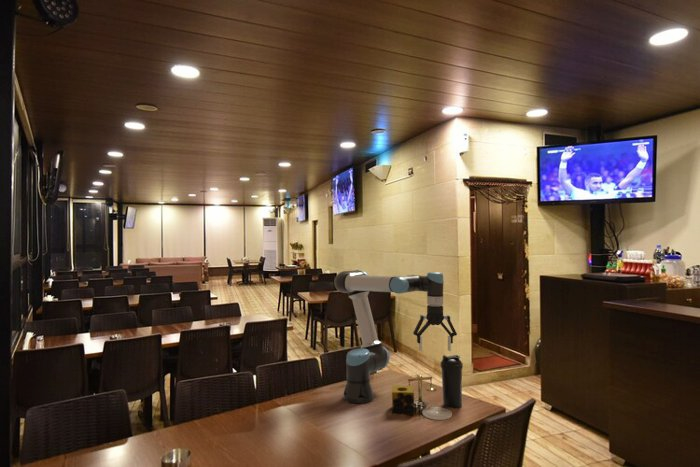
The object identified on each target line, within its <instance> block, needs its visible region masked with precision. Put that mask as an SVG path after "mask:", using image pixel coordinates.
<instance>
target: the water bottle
mask: <svg viewBox="0 0 700 467" xmlns="http://www.w3.org/2000/svg"><path fill="white" fill-rule="evenodd" d="M460 359H461V356H460V355H458V354H455V355H449V356H448V355H445V354H443V355H442V359H441V361H440V368H441V384H442V387H441V388H442V404H443V406H444V408H447V409H460V408H462V407H463V406H462V403H463V401H462V400H463V398H462V396H463V366H464V365H463V364H464V363H463V362H462V360H460Z"/></svg>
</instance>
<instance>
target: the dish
mask: <svg viewBox="0 0 700 467" xmlns="http://www.w3.org/2000/svg"><path fill="white" fill-rule="evenodd" d="M422 416H423V417H424V418H426V419H430V420H434V421H445V420H449V419H451V418H452V416H453V412H452V410H450V409H449V408H447V407H440V406H430V407H426V408H423V409H422Z"/></svg>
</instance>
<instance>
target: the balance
mask: <svg viewBox="0 0 700 467" xmlns="http://www.w3.org/2000/svg"><path fill="white" fill-rule="evenodd" d="M432 379H433V376H422V375H421V374H419V375H417V377H409V378H407V381H408V386H411V382H415V381H417V397H418V399H414V401H419V402H422V401H423V402H424V403H425V405H426V406H427V405H428V404H429V402H428V401H424V400H423V381H428V380H429V383H430V386H426V387H425V391H427V392H437V388H436V387H434V386H433V385H432ZM414 396H416V394H415V392H414Z"/></svg>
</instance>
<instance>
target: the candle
mask: <svg viewBox="0 0 700 467" xmlns="http://www.w3.org/2000/svg"><path fill="white" fill-rule="evenodd" d="M414 393H415V391H414V385H410V386H409V385H391V398H392V399H391V400H392V404H391V405H392V406H391V408H392V415H415V414H416V410H415V405H414V401H415V395H414Z"/></svg>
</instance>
